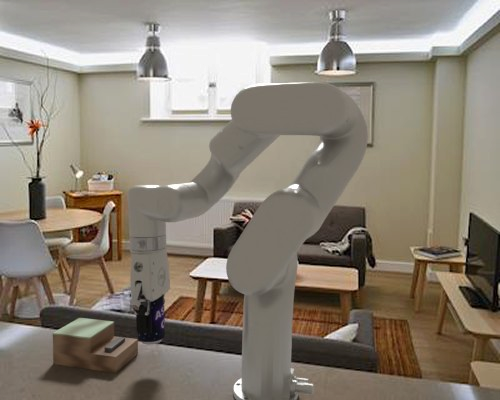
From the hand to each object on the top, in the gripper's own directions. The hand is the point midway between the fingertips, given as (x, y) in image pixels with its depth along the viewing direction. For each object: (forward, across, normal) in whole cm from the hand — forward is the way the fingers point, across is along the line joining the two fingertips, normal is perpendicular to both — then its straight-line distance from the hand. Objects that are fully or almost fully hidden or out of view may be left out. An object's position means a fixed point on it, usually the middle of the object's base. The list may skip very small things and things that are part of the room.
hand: (151, 326), depth 100 cm
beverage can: (+3, 0, 0) cm, 3 cm away
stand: (+9, +1, +14) cm, 17 cm away
